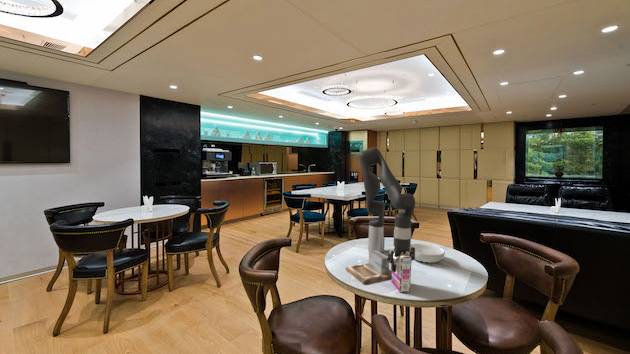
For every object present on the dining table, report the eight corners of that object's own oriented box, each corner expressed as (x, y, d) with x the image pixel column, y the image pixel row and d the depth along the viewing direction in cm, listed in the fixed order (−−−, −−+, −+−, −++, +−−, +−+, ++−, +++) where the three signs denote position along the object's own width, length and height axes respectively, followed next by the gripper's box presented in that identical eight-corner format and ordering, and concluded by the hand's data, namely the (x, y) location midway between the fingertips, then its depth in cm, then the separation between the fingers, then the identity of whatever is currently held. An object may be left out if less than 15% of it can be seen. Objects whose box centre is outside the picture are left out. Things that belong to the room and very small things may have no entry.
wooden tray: (376, 264, 149) (377, 248, 148) (396, 277, 134) (397, 259, 133) (345, 270, 141) (346, 252, 141) (363, 284, 126) (363, 265, 125)
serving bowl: (440, 255, 165) (441, 244, 164) (447, 269, 145) (448, 256, 144) (405, 251, 170) (406, 241, 170) (407, 264, 150) (408, 252, 150)
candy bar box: (410, 292, 118) (412, 257, 117) (400, 293, 118) (401, 257, 117) (400, 281, 130) (401, 248, 128) (390, 281, 129) (392, 248, 128)
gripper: (408, 232, 128) (407, 264, 129) (384, 235, 123) (383, 269, 124) (420, 236, 121) (418, 270, 123) (395, 240, 116) (394, 275, 117)
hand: (401, 270), depth 123 cm, fingers open, 8 cm apart
